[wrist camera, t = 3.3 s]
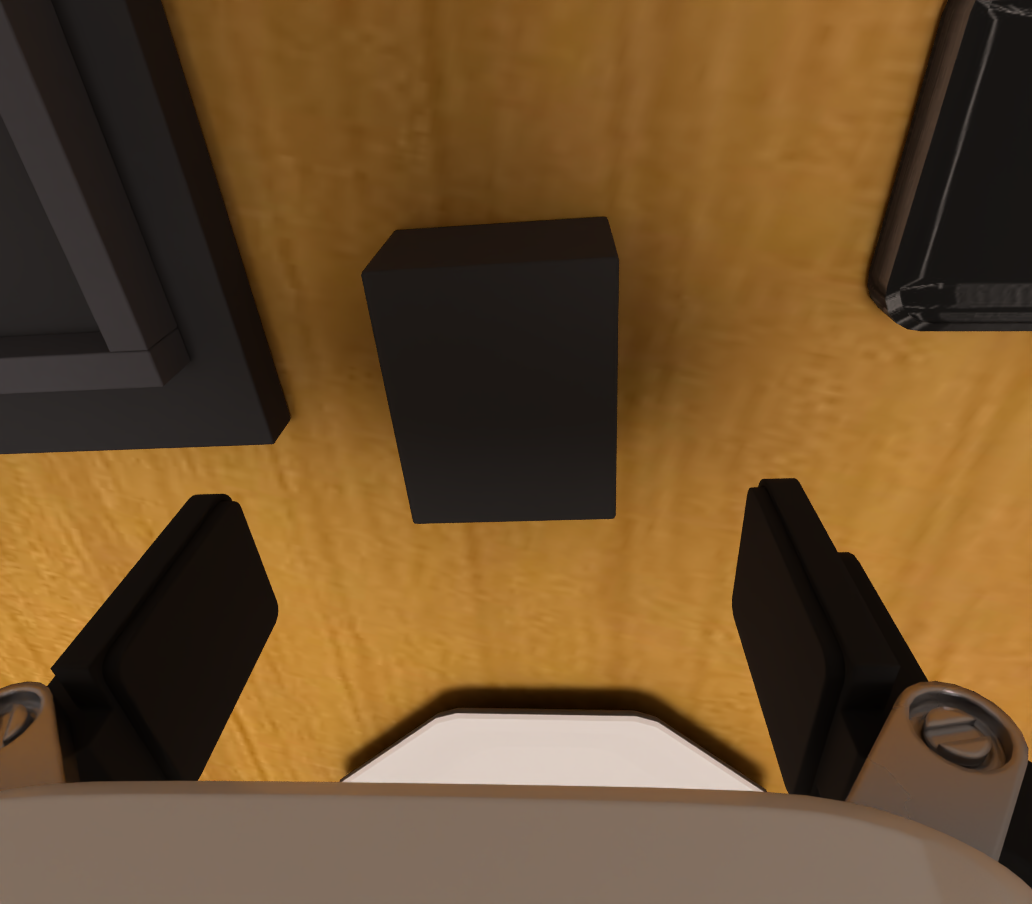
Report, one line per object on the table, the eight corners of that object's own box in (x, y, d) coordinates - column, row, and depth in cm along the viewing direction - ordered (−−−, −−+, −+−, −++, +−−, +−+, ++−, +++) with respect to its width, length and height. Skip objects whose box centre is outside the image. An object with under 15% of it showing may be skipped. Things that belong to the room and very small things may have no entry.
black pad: (393, 228, 17) (359, 272, 14) (607, 215, 16) (619, 256, 13) (433, 454, 20) (412, 525, 17) (607, 448, 20) (616, 520, 17)
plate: (725, 905, 37) (731, 936, 35) (387, 893, 38) (381, 922, 37) (789, 689, 26) (801, 722, 25) (314, 682, 27) (302, 713, 26)
